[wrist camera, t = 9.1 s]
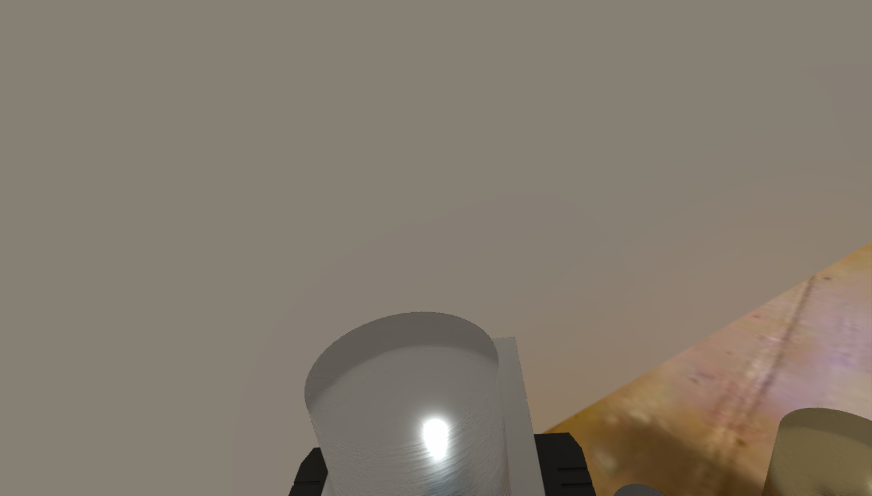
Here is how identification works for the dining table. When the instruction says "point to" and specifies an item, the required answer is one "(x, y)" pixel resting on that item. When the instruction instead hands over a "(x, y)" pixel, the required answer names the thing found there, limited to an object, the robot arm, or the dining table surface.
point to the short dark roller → (637, 491)
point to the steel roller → (411, 409)
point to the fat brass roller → (821, 455)
